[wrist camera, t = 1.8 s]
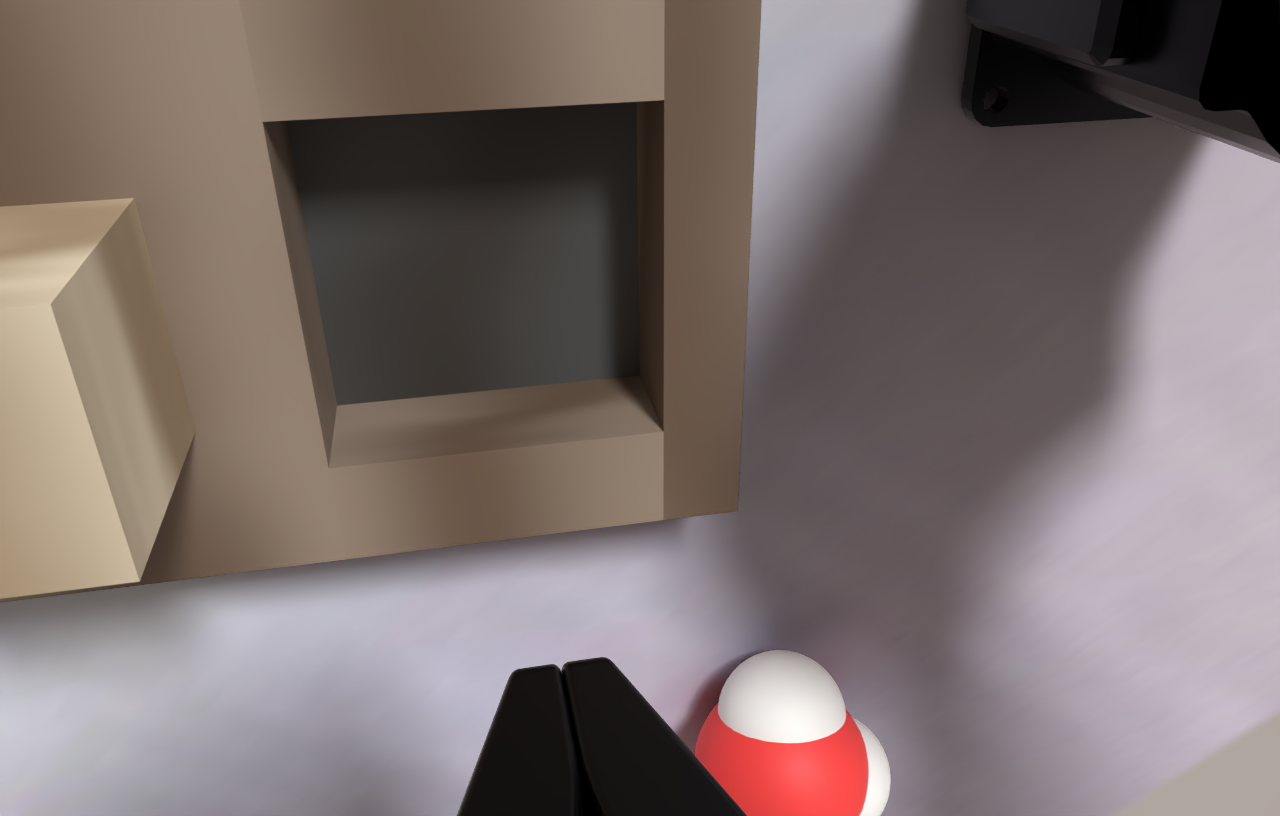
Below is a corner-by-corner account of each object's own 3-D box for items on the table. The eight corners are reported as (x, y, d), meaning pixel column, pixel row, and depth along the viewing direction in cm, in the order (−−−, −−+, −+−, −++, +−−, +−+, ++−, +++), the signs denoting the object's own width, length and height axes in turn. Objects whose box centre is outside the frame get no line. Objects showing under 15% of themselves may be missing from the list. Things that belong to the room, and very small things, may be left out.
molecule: (650, 749, 26) (688, 893, 23) (729, 608, 24) (784, 741, 21) (811, 774, 28) (869, 912, 24) (895, 645, 26) (973, 773, 23)
